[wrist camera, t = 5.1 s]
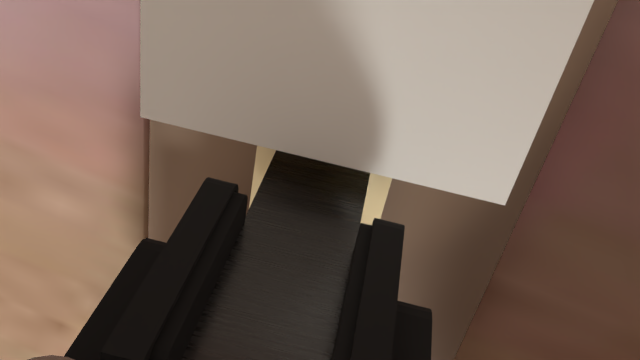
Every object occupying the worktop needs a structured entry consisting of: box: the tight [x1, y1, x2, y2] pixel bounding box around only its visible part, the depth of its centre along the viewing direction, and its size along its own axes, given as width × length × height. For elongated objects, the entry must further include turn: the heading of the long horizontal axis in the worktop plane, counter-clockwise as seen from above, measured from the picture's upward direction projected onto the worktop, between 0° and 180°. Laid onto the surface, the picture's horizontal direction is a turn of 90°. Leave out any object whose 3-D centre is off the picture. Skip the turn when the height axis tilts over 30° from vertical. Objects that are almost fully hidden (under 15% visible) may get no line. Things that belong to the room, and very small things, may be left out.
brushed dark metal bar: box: [181, 146, 392, 360], centre depth 13 cm, size 3×13×11 cm, turn 170°
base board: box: [148, 0, 618, 360], centre depth 20 cm, size 12×21×1 cm, turn 170°
